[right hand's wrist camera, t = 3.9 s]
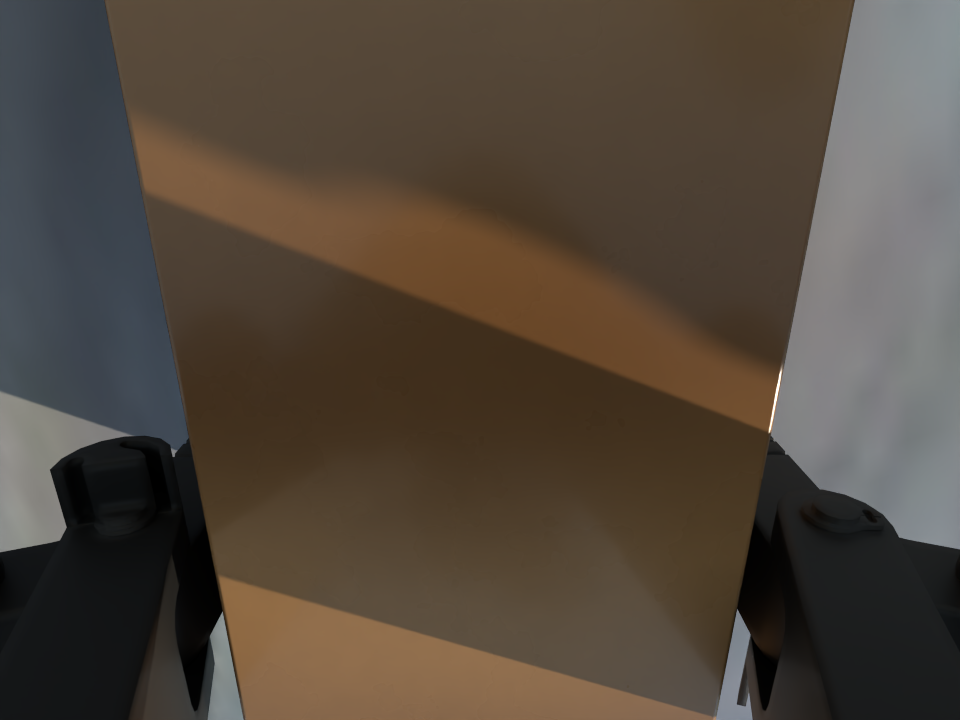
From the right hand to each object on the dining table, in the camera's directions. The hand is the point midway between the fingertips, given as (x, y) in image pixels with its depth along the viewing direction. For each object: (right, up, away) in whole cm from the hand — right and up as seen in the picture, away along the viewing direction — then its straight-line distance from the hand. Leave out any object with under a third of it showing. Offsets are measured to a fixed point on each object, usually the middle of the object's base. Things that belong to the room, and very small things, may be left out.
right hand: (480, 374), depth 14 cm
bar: (0, +12, -4) cm, 13 cm away
